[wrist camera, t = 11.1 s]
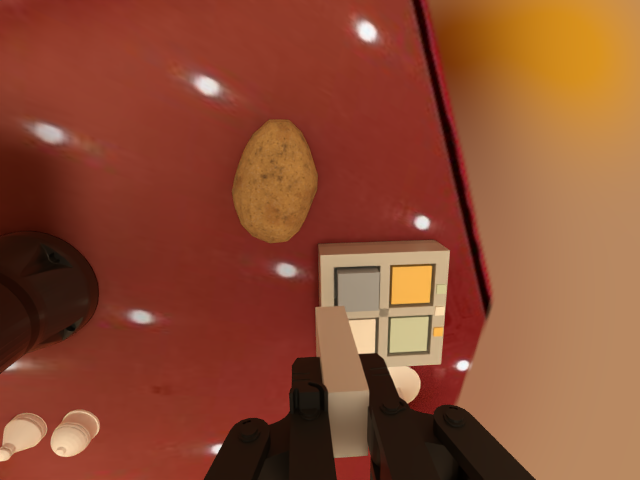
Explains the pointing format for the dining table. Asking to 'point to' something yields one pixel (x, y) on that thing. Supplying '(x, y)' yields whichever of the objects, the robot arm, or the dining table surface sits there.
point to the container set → (64, 439)
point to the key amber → (410, 283)
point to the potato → (275, 182)
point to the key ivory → (363, 334)
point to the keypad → (382, 259)
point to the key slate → (358, 288)
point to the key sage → (407, 333)
